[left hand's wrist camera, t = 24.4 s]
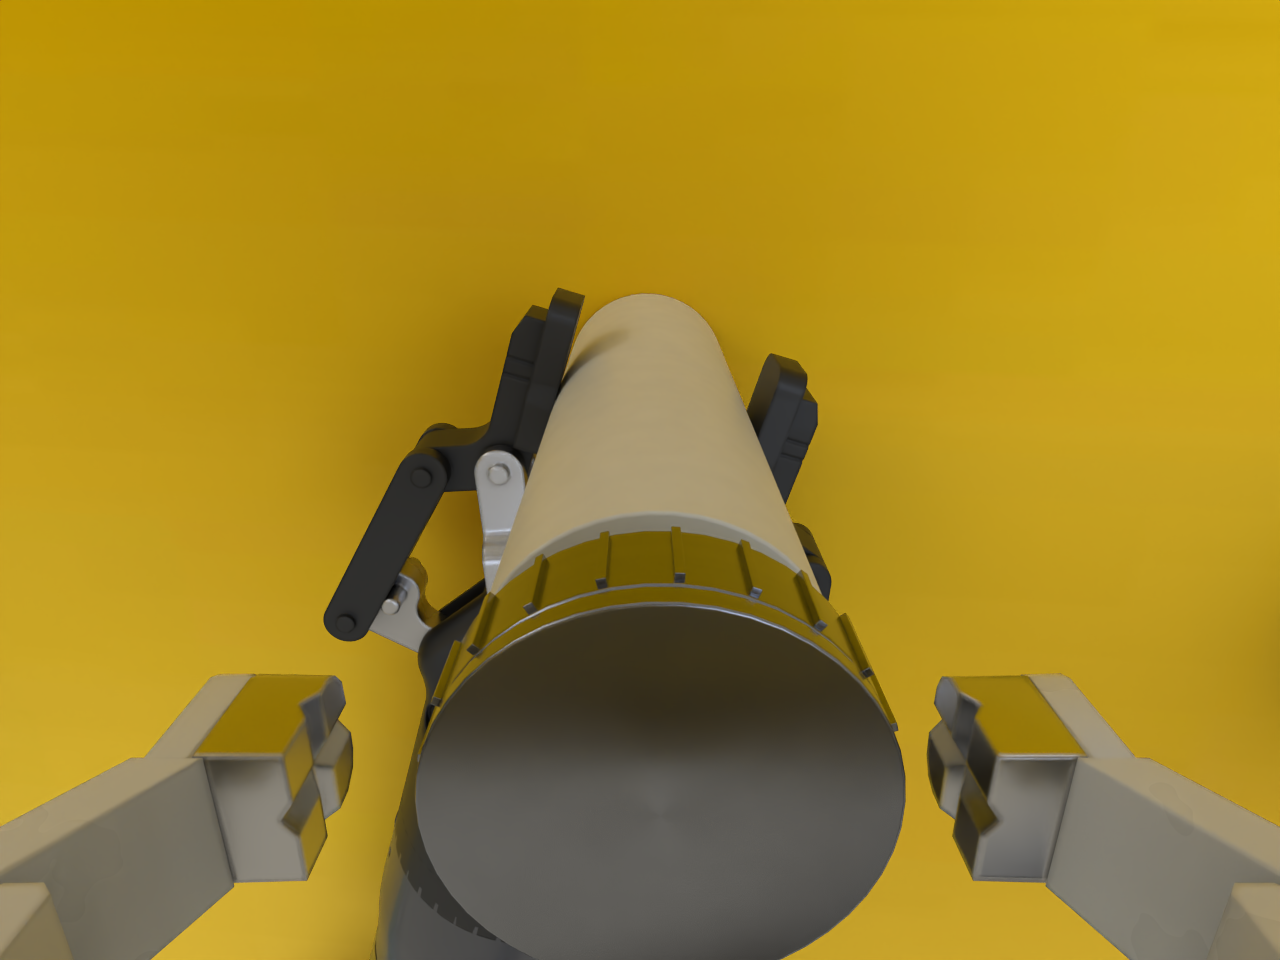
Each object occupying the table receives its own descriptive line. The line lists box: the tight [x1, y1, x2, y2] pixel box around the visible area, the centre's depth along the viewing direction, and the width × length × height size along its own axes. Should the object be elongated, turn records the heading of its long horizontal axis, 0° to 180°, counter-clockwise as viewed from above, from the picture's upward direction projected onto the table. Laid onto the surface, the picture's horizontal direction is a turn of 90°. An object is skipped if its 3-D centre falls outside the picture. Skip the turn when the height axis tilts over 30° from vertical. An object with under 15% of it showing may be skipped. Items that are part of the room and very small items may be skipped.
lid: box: [415, 526, 905, 960], centre depth 9 cm, size 5×5×2 cm
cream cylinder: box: [490, 294, 822, 595], centre depth 18 cm, size 5×5×18 cm
